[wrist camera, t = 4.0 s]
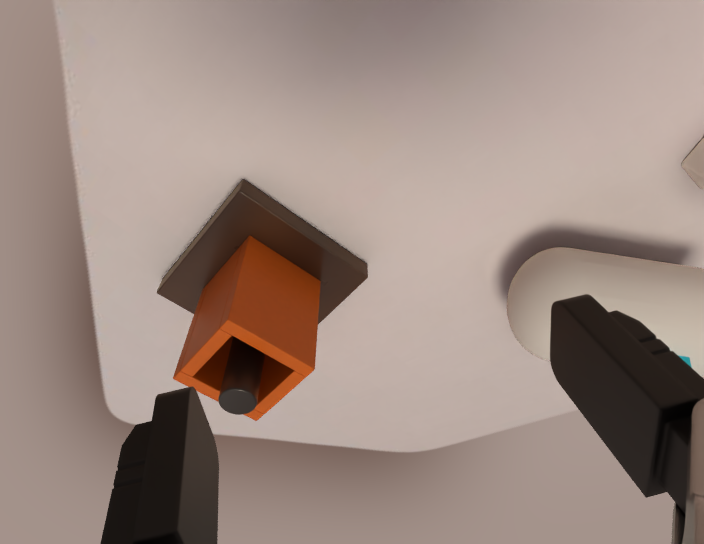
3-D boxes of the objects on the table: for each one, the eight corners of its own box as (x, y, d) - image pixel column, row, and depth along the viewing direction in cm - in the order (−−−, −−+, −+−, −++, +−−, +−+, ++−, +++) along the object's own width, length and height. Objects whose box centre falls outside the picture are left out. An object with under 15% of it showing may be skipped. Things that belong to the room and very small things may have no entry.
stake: (161, 279, 40) (104, 410, 31) (243, 178, 35) (205, 296, 26) (280, 348, 44) (261, 483, 34) (367, 264, 39) (373, 393, 30)
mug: (547, 359, 30) (756, 386, 32) (531, 217, 35) (714, 246, 36) (471, 421, 41) (632, 440, 42) (466, 305, 45) (612, 325, 46)
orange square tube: (201, 289, 39) (172, 379, 32) (249, 234, 36) (227, 319, 30) (271, 330, 41) (256, 421, 34) (320, 281, 38) (315, 369, 32)
